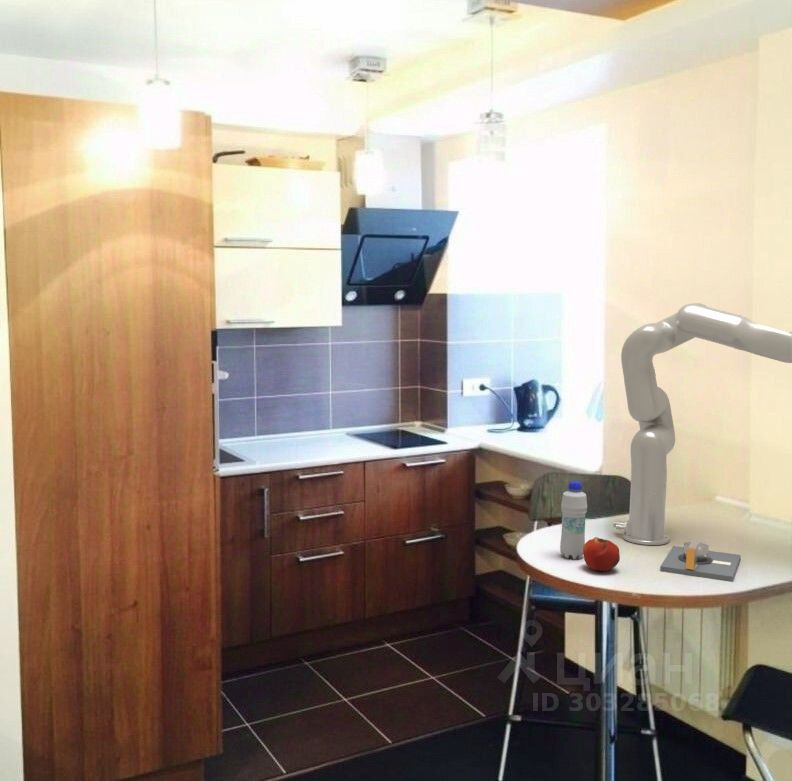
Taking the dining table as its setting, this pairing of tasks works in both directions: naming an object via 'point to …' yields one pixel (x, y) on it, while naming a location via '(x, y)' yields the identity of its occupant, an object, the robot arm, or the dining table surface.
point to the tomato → (601, 554)
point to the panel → (703, 565)
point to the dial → (695, 553)
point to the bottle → (573, 521)
